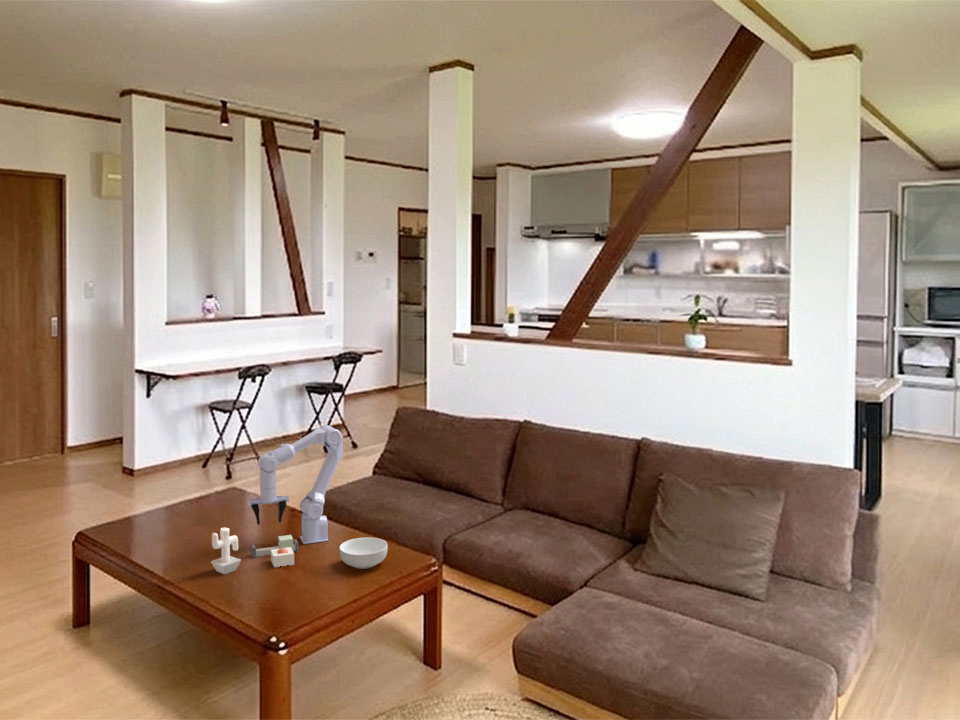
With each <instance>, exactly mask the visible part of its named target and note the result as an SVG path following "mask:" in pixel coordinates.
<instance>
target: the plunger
mask: <svg viewBox="0 0 960 720" xmlns="http://www.w3.org/2000/svg"><path fill="white" fill-rule="evenodd" d="M282 553H287V552H286V549H285V548H282V549H279V550H278V554H282Z"/></svg>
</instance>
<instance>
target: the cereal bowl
mask: <svg viewBox="0 0 960 720" xmlns="http://www.w3.org/2000/svg"><path fill="white" fill-rule="evenodd" d="M388 551H389V549H388V542H387V541H386V540H384V539H382V538H378V537H370V536H369V537H365V536H364V537H358V538H352V539H348V540H346V541H344V542H342V543H341V544H340V545H339V556H340V559H341V560H342V561H343V563H345V564H346V565H348V566H351V567H353V568H355V569H360V570H362V569H370V568H373V567H375V566H376V565H378V564H381V562H383V561H384V560H385V558H386V557H387V554H388Z"/></svg>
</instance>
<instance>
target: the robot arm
mask: <svg viewBox="0 0 960 720" xmlns="http://www.w3.org/2000/svg"><path fill="white" fill-rule="evenodd" d="M343 441H344V437H343V434H342V432H341V431H340V430H339V429H336V428H334V427H333V426H331V425H328V424H323V425H322V426H321V427H318V428H316V429H314V430H313V431H311V432H310V433H308V434H306V435H305V436H304V437H302V438H299V440H296V441H295V442H293V443H291V444H290V443H281V444H280V446H279V447H278V448H276V449H274V450H269V451H268V453H264V454H262V455H260V456H259V458H258V460H257V463H256V464H257V467H259V490H260V491H259V492H260V493H259V494H260V497H257V498H253V499H252V498H251V499H247V505H248V507H251V509H252V511H253V513H254V515H255V518H256V525H259V526H260V525H261V524H260V505H268V504H277V507H278V509H277V510H278V511H277V513H278V514H277V515H278V516H277V517H278V519H277V520H278V523H281V522H282V518H283V513H284V512H285V510H286V508H287V503H289V502H290V497H289V495H277V474H276V471H277V468H278V466H281V465H282V464H285V463H286V462H287V461H289V460H291V459H294V458H295V455H296V453H297V452H298V453H299V452H300V451H302V450H304V449H306V448H308V447H310V446H311V445H312V446H313V445H314V444H321V445H322V444H323V445H325V447H326V449H327V455H326V457H325V459H324V461H323V464H322V465H321V468H320V470H319V473H318V475H317V477H316V479H315V482H314V483H313V485H312V487H311V490H309V491H308V492H307V493H306V495H305V497H304V498H303V499H302V500H301V501H300V504H299V508H300V509H299V510H300V512H302V514H301V536H299V538H300V541H301V542H302V544H303V545H307V544H313V543H314V544H315V543H323V542H328V541H329V533H328V532H329V529H328V527H329V526H328V518H327V515H323V513H324V505H325V503H326V502H325V501H326V500H325V495H326V492H327V491H328V488H329V486H330V484H331V482H332V479H333V477H334V475H335V472H336V471H337V468H338V466H339V463H340V462H341V459H342V457H343V455H344V445H343V444H344V443H343Z"/></svg>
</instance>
